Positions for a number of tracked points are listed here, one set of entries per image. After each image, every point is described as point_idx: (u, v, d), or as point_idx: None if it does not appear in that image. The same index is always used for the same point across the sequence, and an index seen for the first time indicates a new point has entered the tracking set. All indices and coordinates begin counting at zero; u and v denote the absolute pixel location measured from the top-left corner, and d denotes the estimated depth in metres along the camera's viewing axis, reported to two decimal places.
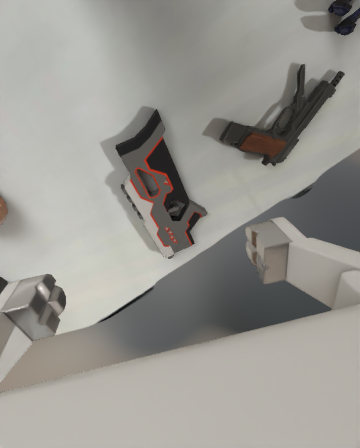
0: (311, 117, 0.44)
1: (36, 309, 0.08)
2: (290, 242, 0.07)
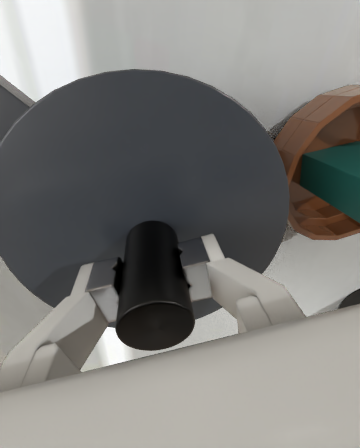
0: None
1: (117, 289, 0.08)
2: (207, 262, 0.07)
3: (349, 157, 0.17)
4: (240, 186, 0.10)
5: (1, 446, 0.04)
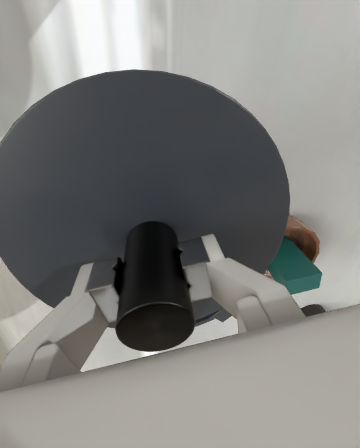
0: None
1: (117, 289, 0.08)
2: (207, 262, 0.07)
3: None
4: (240, 187, 0.10)
5: (1, 446, 0.04)
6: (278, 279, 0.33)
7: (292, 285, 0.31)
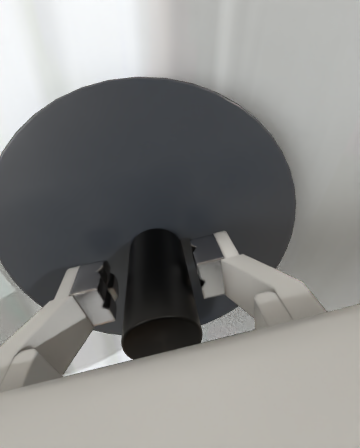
0: None
1: (102, 293, 0.08)
2: (222, 259, 0.07)
3: None
4: (246, 193, 0.09)
5: (1, 446, 0.04)
6: None
7: None
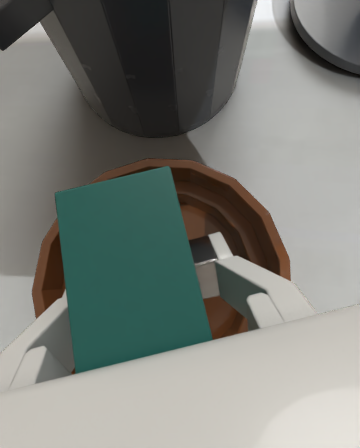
0: None
1: None
2: (216, 260, 0.07)
3: None
4: None
5: (1, 446, 0.04)
6: None
7: (135, 207, 0.05)
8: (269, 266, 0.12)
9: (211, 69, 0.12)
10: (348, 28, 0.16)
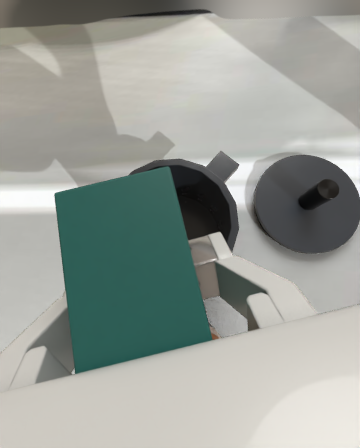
0: None
1: None
2: (216, 260, 0.07)
3: None
4: (333, 230, 0.28)
5: (1, 446, 0.04)
6: None
7: (135, 208, 0.05)
8: None
9: None
10: (286, 221, 0.29)
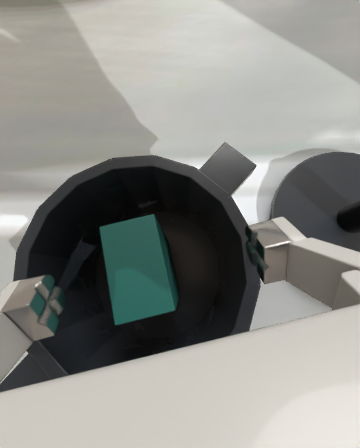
0: None
1: (36, 309, 0.08)
2: (290, 242, 0.07)
3: (170, 258, 0.17)
4: None
5: (1, 446, 0.04)
6: None
7: (137, 234, 0.12)
8: None
9: None
10: None
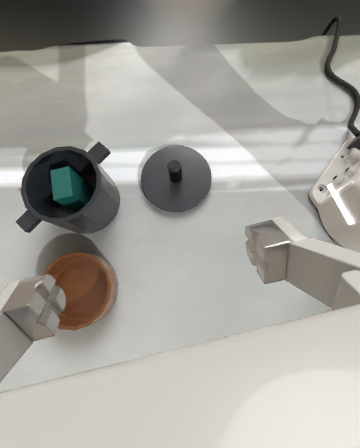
0: None
1: (36, 309, 0.08)
2: (290, 242, 0.07)
3: (88, 191, 0.40)
4: (190, 196, 0.42)
5: (1, 446, 0.04)
6: None
7: (62, 172, 0.35)
8: None
9: (94, 222, 0.38)
10: (159, 190, 0.42)
